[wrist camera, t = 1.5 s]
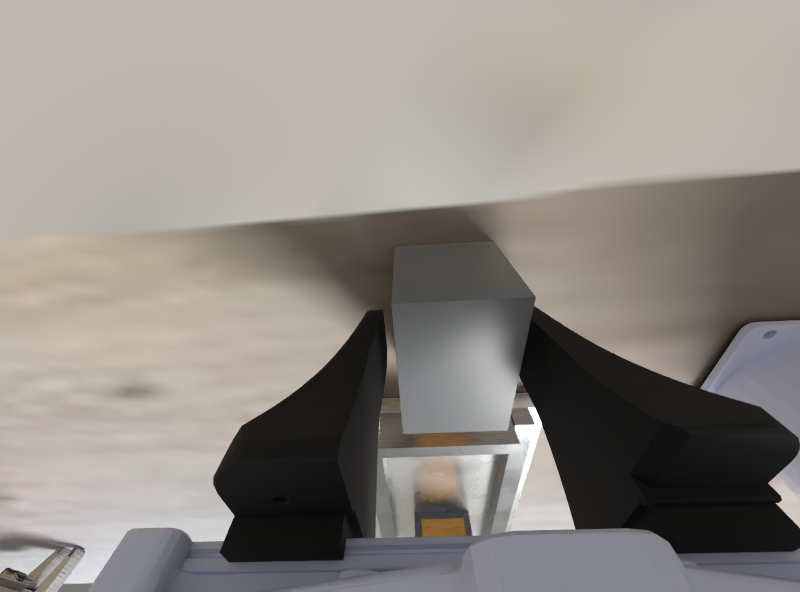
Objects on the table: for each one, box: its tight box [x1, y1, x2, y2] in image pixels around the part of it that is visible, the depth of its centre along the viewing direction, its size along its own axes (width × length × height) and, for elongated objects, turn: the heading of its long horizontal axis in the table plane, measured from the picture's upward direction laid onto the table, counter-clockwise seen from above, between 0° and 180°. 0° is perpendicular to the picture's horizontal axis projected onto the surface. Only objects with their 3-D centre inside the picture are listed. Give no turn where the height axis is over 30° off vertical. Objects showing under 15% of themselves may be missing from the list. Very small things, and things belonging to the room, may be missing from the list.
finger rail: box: [375, 392, 542, 538], centre depth 19 cm, size 11×18×6 cm, turn 4°
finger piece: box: [391, 241, 535, 434], centre depth 12 cm, size 4×6×4 cm, turn 4°
